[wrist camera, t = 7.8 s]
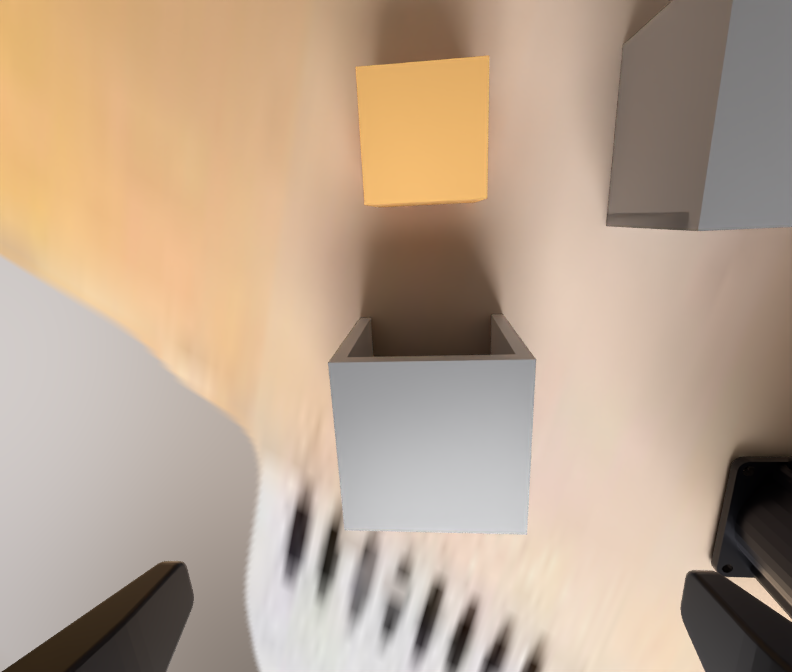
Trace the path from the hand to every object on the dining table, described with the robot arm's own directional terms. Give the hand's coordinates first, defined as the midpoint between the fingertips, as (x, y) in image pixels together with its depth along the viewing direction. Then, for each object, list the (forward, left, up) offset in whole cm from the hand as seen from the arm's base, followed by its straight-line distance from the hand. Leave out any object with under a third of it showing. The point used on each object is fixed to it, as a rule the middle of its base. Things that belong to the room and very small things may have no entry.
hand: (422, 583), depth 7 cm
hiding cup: (-1, 0, -12) cm, 12 cm away
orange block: (+9, 0, -12) cm, 15 cm away
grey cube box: (+9, -11, -12) cm, 18 cm away
